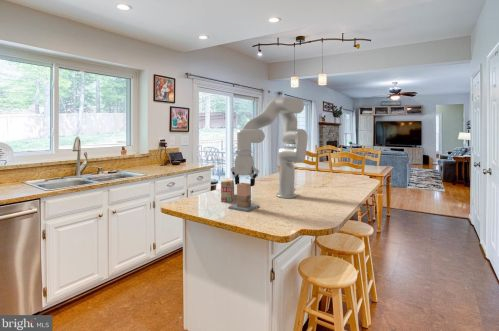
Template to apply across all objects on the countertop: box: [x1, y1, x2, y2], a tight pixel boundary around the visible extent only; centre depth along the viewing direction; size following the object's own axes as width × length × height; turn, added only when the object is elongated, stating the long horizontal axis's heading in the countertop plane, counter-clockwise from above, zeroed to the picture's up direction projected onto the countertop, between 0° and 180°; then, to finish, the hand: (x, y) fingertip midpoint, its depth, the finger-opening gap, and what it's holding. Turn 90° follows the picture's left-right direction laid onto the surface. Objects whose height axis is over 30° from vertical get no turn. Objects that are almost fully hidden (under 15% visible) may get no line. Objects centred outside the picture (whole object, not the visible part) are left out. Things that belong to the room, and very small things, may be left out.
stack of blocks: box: [220, 177, 235, 203], centre depth 190 cm, size 21×6×12 cm, turn 179°
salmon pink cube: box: [236, 182, 252, 197], centre depth 166 cm, size 6×6×6 cm
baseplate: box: [228, 203, 260, 213], centre depth 167 cm, size 12×12×1 cm
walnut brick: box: [236, 194, 252, 208], centre depth 167 cm, size 6×6×6 cm
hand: (244, 185), depth 166 cm, fingers open, 9 cm apart
